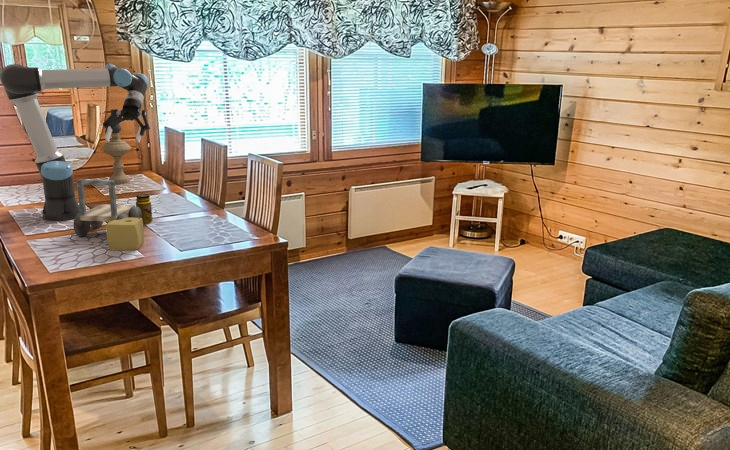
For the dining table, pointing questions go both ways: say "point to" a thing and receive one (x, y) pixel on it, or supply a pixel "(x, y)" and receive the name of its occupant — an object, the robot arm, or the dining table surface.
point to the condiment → (145, 208)
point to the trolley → (100, 209)
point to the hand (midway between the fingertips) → (122, 140)
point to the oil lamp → (117, 154)
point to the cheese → (125, 234)
